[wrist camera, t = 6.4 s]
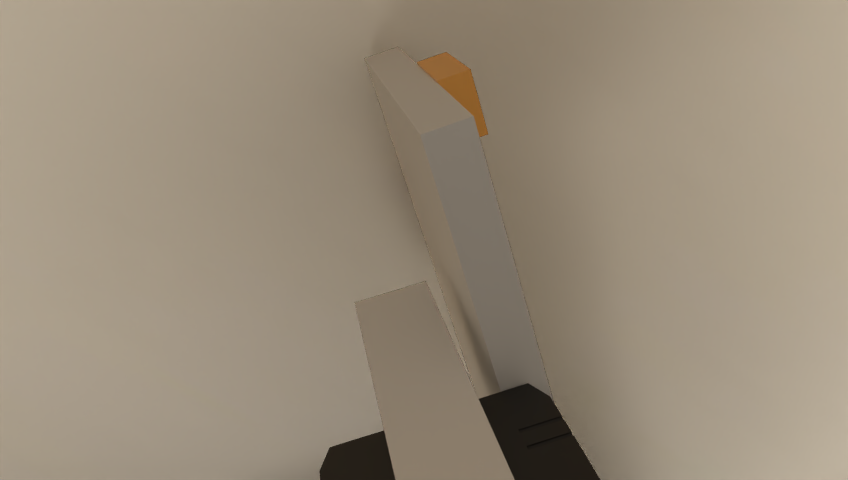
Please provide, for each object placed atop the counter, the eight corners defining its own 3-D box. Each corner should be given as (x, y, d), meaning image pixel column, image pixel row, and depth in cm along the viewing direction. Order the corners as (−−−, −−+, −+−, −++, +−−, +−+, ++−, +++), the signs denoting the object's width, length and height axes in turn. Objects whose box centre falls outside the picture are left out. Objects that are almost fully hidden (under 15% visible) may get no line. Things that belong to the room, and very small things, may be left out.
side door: (558, 497, 23) (673, 722, 17) (512, 515, 23) (609, 748, 16) (422, 35, 17) (514, 100, 11) (358, 56, 17) (413, 135, 11)
